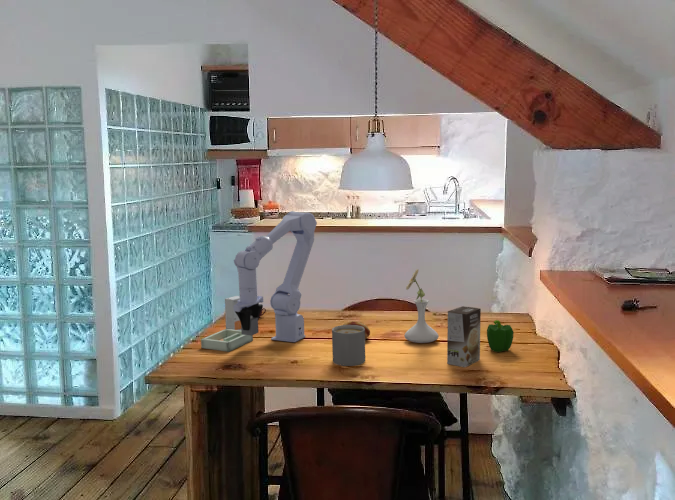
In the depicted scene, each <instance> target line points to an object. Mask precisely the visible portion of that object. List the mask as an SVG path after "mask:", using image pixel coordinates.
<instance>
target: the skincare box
mask: <svg viewBox="0 0 675 500" xmlns="http://www.w3.org/2000/svg"><path fill="white" fill-rule="evenodd" d="M237 300H240V295H235V296H229V297H226V298H224V311H225V313H224V314H225V329H232V330H240V331H241V322H240V319H239V317H238V316H237V314H236V313H235V311H234V305H236V304H237V303H238V302H237Z"/></svg>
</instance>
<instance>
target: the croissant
mask: <svg viewBox="0 0 675 500" xmlns="http://www.w3.org/2000/svg"><path fill="white" fill-rule="evenodd" d="M342 325H358V326H362V327H364V328H365V340H366V339H367V338H369V337H370V335H371V330H370V328H369V327H368V326H367V325H366V324H364V323H362V322H360V321H357V320H354V321H353V320H352V321H348V322H345V323H343V324H342Z"/></svg>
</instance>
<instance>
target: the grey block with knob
mask: <svg viewBox="0 0 675 500" xmlns="http://www.w3.org/2000/svg"><path fill="white" fill-rule="evenodd" d="M240 331H241V332H242V335H251V336H252V335H253V336H254V335H257V334H258V333H259V319H258V318H256V317H252V316H251V317H250V329H249V330H243V328H242V325H241V330H240Z"/></svg>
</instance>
